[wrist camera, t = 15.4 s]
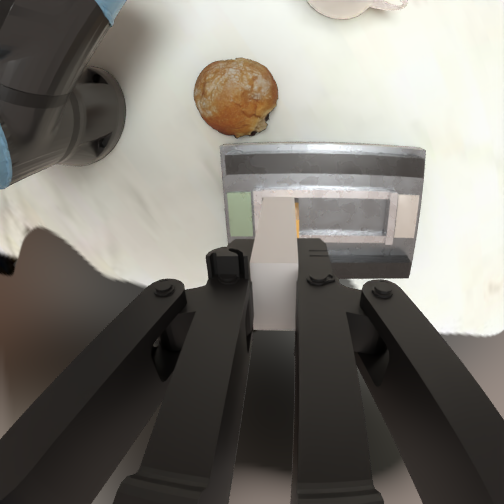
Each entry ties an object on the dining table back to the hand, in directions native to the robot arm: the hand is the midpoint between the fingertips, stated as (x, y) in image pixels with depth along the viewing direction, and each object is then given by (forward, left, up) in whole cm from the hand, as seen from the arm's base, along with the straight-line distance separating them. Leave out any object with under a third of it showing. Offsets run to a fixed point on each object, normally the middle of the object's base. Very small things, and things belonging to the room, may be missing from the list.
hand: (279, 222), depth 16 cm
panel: (+5, -8, -26) cm, 28 cm away
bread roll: (-6, +7, -26) cm, 28 cm away
